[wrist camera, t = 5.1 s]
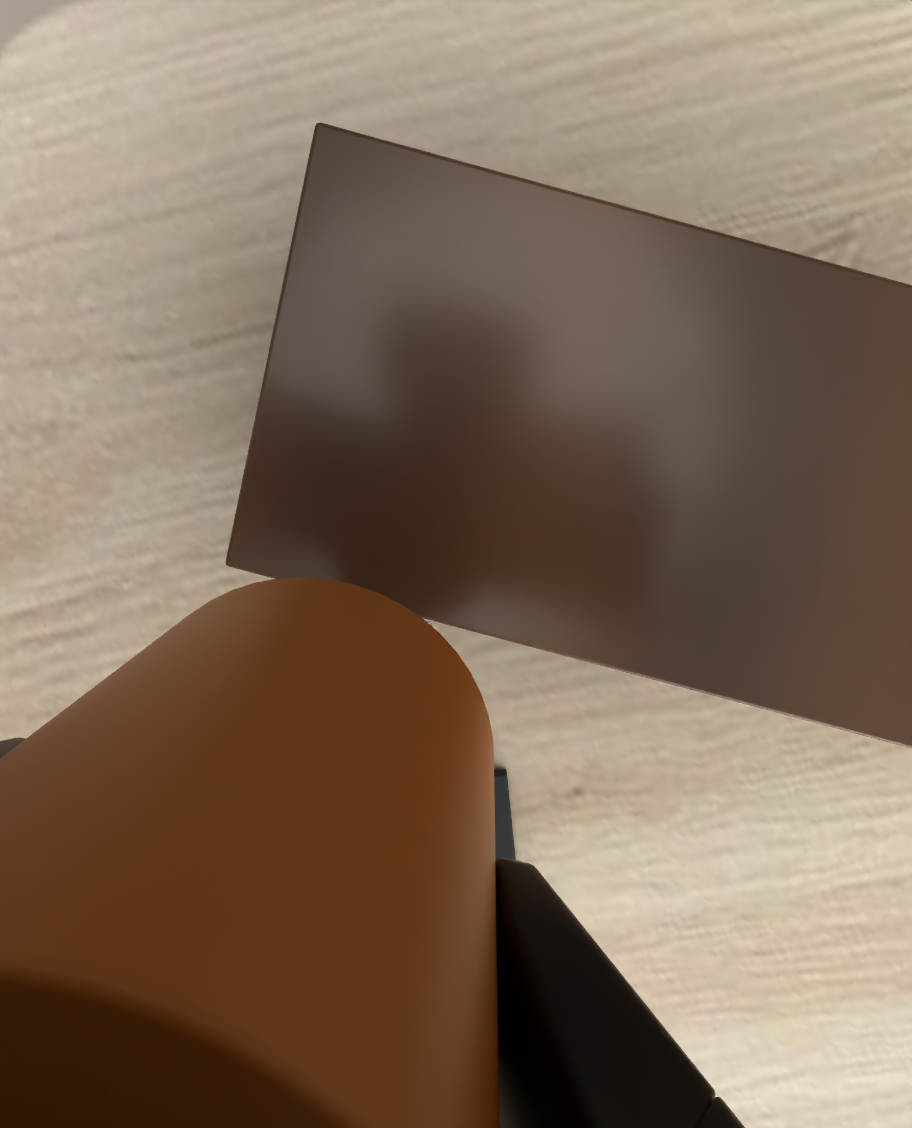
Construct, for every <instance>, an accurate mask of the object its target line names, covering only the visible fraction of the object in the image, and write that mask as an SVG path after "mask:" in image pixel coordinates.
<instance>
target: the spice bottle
mask: <svg viewBox="0 0 912 1128" xmlns="http://www.w3.org/2000/svg"><path fill="white" fill-rule="evenodd" d="M0 1128H500V1125H499V1060H498V995H497V930H496V865H495V800H494V753H493V737H492V731H491V726H490V721H489V716H488V713H487V710H486V707H485V704H484V701H483V698H482V695H481V693H480V691H479V689H478V687H477V685H476V683H475V681H474V679H473V677H472V675H471V673H470V671H469V670H468V668H467V667H466V665H465V664H464V662H463V661H462V659H461V658H460V656H459V655H458V653H457V652H456V651H455V650H454V649H453V648H452V646H451V645H450V644H449V643H448V642H447V641H446V640H445V639H444V638H443V636H442V635H441V634H440V633H439V632H437V631H436V630H435V629H434V628H433V627H432V626H431V625H429V624H428V623H427V622H426V621H425V620H424V619H422V618H421V617H420V616H418V615H417V614H415V613H414V612H412V611H411V610H409V609H408V608H406V607H405V606H403V605H402V604H400V603H398V602H396V601H394V600H392V599H390V598H388V597H386V596H384V595H382V594H380V593H377V592H374V591H372V590H369V589H366V588H363V587H360V586H357V585H354V584H350V583H345V582H340V581H335V580H331V579H320V578H308V577H299V578H279V579H274V580H268V581H263V582H257V583H253V584H250V585H247V586H244V587H241V588H238V589H234V590H232V591H230V592H228V593H225V594H223V595H221V596H219V597H217V598H215V599H213V600H211V601H209V602H208V603H206V604H205V605H203V606H202V607H200V608H199V609H197V610H196V611H194V612H193V613H191V614H190V615H188V616H187V617H186V618H185V619H183V620H182V621H181V622H179V623H178V624H177V625H175V626H174V627H173V628H171V629H170V630H169V631H167V632H166V633H165V634H163V635H162V636H161V637H160V638H158V639H157V640H156V641H154V642H153V643H152V644H150V645H149V646H148V647H146V648H145V649H144V650H142V651H141V652H140V653H138V654H137V655H136V656H135V657H133V658H132V659H131V660H129V661H128V662H127V663H125V664H124V665H123V666H121V667H120V668H119V669H117V670H116V671H115V672H113V673H112V674H111V675H110V676H108V677H107V678H106V679H104V680H103V681H102V682H100V683H99V684H98V685H96V686H95V687H94V688H92V689H91V690H90V691H88V692H87V693H86V694H85V695H83V696H82V697H81V698H79V699H78V700H77V701H75V702H74V703H73V704H71V705H70V706H69V707H67V708H66V709H65V710H64V711H62V712H61V713H60V714H58V715H57V716H56V717H54V718H53V719H52V720H50V721H49V722H48V723H46V724H45V725H44V726H42V727H41V728H40V729H39V730H37V731H36V732H35V733H33V734H32V735H31V736H29V737H28V738H27V739H25V740H24V741H23V742H21V743H20V744H19V745H17V746H16V747H15V748H14V749H12V750H11V751H10V752H8V753H7V754H6V755H4V756H3V757H2V758H0Z"/></svg>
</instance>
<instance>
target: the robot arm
mask: <svg viewBox="0 0 912 1128" xmlns="http://www.w3.org/2000/svg"><path fill="white" fill-rule="evenodd" d="M24 740H25V738H13V739H9V740H4V741H0V758H2V757H3V756H4V755H6V754H7V753H8V752H10V751H11V750H12V749H14V748H15V747H16V746H17V745H19V744H20V743H21V742H23V741H24ZM495 865H496V930H497V995H498V1060H499V1125H500V1128H745V1127H744V1126H743V1125H742V1123H741V1122H740V1121H739V1120H738V1118H737V1117H736V1116H735V1115H734V1113H733V1112H732V1111H731V1110H730V1108H729V1107H728V1106H727V1105H726V1103H725V1102H724V1101H723V1100H722V1099H721V1098H720V1097H715V1091H714V1089H713V1088H712V1086H711V1085H710V1084H709V1083H708V1081H707V1080H706V1079H705V1078H704V1076H703V1075H702V1074H701V1073H700V1072H699V1070H698V1069H697V1068H696V1067H695V1065H694V1064H693V1063H692V1062H691V1060H690V1059H689V1058H688V1057H687V1055H686V1054H685V1053H684V1052H683V1050H682V1049H681V1048H680V1047H679V1045H678V1044H677V1043H676V1042H675V1040H674V1039H673V1038H672V1037H671V1035H670V1034H669V1033H668V1032H667V1030H666V1029H665V1028H664V1027H663V1025H662V1024H661V1023H660V1022H659V1020H658V1019H657V1018H656V1017H655V1015H654V1014H653V1013H652V1012H651V1011H650V1009H649V1008H648V1007H647V1006H646V1004H645V1003H644V1002H643V1001H642V999H641V998H640V997H639V996H638V994H637V993H636V992H635V991H634V989H633V988H632V987H631V986H630V984H629V983H628V982H627V981H626V979H625V978H624V977H623V976H622V974H621V973H620V972H619V971H618V969H617V968H616V967H615V966H614V964H613V963H612V962H611V961H610V959H609V958H608V957H607V956H606V954H605V953H604V952H603V951H602V949H601V948H600V947H599V946H598V945H597V943H596V942H595V941H594V940H593V938H592V937H591V936H590V935H589V933H588V932H587V931H586V930H585V928H584V927H583V926H582V925H581V923H580V922H579V921H578V920H577V918H576V917H575V916H574V915H573V913H572V912H571V911H570V910H569V908H568V907H567V906H566V905H565V903H564V902H563V901H562V900H561V898H560V897H559V896H558V895H557V893H556V892H555V891H554V890H553V888H552V887H551V886H550V885H549V884H548V882H547V881H546V880H545V879H544V877H543V876H542V875H541V874H540V872H539V871H538V870H537V869H536V868H535V867H534V866H533V865H531V864H528V863H524V862H520V861H516V860H512V859H508V858H498V859H497V860H496V861H495Z"/></svg>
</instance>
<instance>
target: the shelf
mask: <svg viewBox="0 0 912 1128" xmlns="http://www.w3.org/2000/svg"><path fill="white" fill-rule="evenodd" d="M226 565H228V566H229V567H233V568H237V569H241V570H244V571H248V572H252V573H256V574H260V575H263V576H267V577H271V578H275V579H279V578H299V577H308V578H320V579H331V580H335V581H340V582H345V583H350V584H354V585H357V586H360V587H363V588H366V589H369V590H372V591H374V592H377V593H380V594H382V595H384V596H386V597H388V598H390V599H392V600H394V601H396V602H398V603H400V604H402V605H403V606H405V607H406V608H408V609H409V610H411V611H412V612H414V613H415V614H417V615H418V616H420V617H421V618H425V619H428V620H432V621H436V622H440V623H443V624H447V625H451V626H455V627H458V628H462V629H466V630H470V631H473V632H477V633H481V634H485V635H489V636H492V637H496V638H500V639H504V640H507V641H511V642H515V643H519V644H522V645H526V646H530V647H534V648H537V649H541V650H545V651H549V652H552V653H556V654H560V655H564V656H567V657H571V658H575V659H579V660H582V661H586V662H590V663H594V664H597V665H601V666H605V667H609V668H612V669H616V670H620V671H624V672H627V673H631V674H635V675H639V676H642V677H646V678H650V679H654V680H657V681H661V682H665V683H669V684H672V685H676V686H680V687H684V688H687V689H691V690H695V691H699V692H702V693H706V694H710V695H714V696H718V697H721V698H725V699H729V700H733V701H736V702H740V703H744V704H748V705H751V706H755V707H759V708H763V709H766V710H770V711H774V712H778V713H781V714H785V715H789V716H793V717H796V718H800V719H804V720H808V721H811V722H815V723H819V724H823V725H826V726H830V727H834V728H838V729H841V730H845V731H849V732H853V733H856V734H860V735H864V736H868V737H871V738H875V739H879V740H883V741H886V742H890V743H894V744H898V745H901V746H905V747H909V748H912V285H909V284H905V283H902V282H898V281H894V280H891V279H887V278H884V277H880V276H876V275H873V274H869V273H865V272H862V271H858V270H854V269H851V268H847V267H844V266H840V265H836V264H833V263H829V262H825V261H822V260H818V259H814V258H811V257H807V256H804V255H800V254H796V253H793V252H789V251H785V250H782V249H778V248H774V247H771V246H767V245H764V244H760V243H756V242H753V241H749V240H745V239H742V238H738V237H734V236H731V235H727V234H724V233H720V232H716V231H713V230H709V229H705V228H702V227H698V226H695V225H691V224H687V223H684V222H680V221H676V220H673V219H669V218H665V217H662V216H658V215H655V214H651V213H647V212H644V211H640V210H636V209H633V208H629V207H625V206H622V205H618V204H615V203H611V202H607V201H604V200H600V199H596V198H593V197H589V196H585V195H582V194H578V193H575V192H571V191H567V190H564V189H560V188H556V187H553V186H549V185H545V184H542V183H538V182H535V181H531V180H527V179H524V178H520V177H516V176H513V175H509V174H505V173H502V172H498V171H495V170H491V169H487V168H484V167H480V166H476V165H473V164H469V163H466V162H462V161H458V160H455V159H451V158H447V157H444V156H440V155H436V154H433V153H429V152H426V151H422V150H418V149H415V148H411V147H407V146H404V145H400V144H396V143H393V142H389V141H386V140H382V139H378V138H375V137H371V136H367V135H364V134H360V133H356V132H353V131H349V130H346V129H342V128H338V127H335V126H331V125H327V124H324V123H317V124H316V126H315V129H314V134H313V139H312V144H311V149H310V154H309V159H308V163H307V168H306V173H305V178H304V183H303V188H302V193H301V197H300V202H299V207H298V212H297V217H296V222H295V227H294V232H293V236H292V241H291V246H290V251H289V256H288V261H287V266H286V270H285V275H284V280H283V285H282V290H281V295H280V300H279V304H278V309H277V314H276V319H275V324H274V329H273V334H272V338H271V343H270V348H269V353H268V358H267V363H266V368H265V373H264V377H263V382H262V387H261V392H260V397H259V402H258V407H257V411H256V416H255V421H254V426H253V431H252V436H251V441H250V445H249V450H248V455H247V460H246V465H245V470H244V475H243V479H242V484H241V489H240V494H239V499H238V504H237V509H236V514H235V518H234V523H233V528H232V533H231V538H230V543H229V548H228V552H227V557H226Z"/></svg>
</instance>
